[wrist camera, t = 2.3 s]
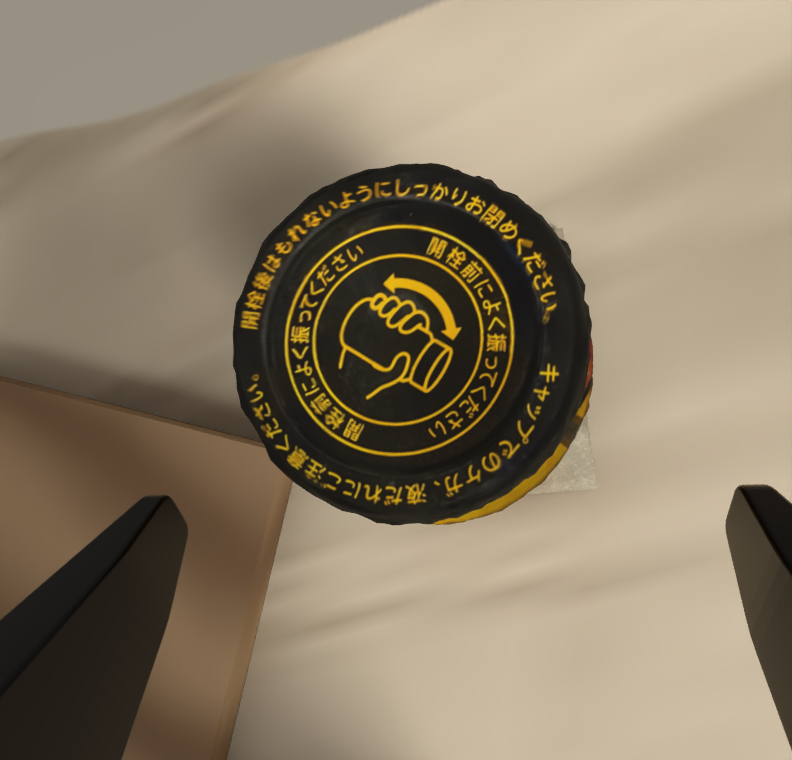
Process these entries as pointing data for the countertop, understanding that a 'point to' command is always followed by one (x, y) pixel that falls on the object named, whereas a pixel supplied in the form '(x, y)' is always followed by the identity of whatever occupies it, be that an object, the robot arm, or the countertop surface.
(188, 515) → the walnut board
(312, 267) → the condiment
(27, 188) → the countertop surface
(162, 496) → the robot arm
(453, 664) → the countertop surface
